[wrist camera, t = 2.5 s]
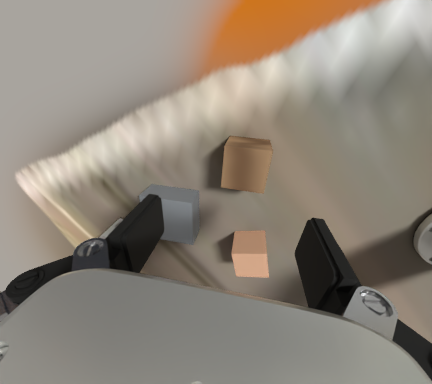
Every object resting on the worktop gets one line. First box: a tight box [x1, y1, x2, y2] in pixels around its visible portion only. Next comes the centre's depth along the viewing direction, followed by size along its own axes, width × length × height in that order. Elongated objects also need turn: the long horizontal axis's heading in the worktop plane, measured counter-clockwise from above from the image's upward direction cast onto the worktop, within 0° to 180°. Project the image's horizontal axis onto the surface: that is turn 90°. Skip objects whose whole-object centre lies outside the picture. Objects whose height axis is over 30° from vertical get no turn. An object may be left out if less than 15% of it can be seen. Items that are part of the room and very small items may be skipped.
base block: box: [139, 184, 199, 245], centre depth 29 cm, size 8×8×4 cm
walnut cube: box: [221, 136, 273, 194], centre depth 22 cm, size 5×5×5 cm
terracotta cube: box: [232, 231, 269, 278], centre depth 29 cm, size 5×5×5 cm
